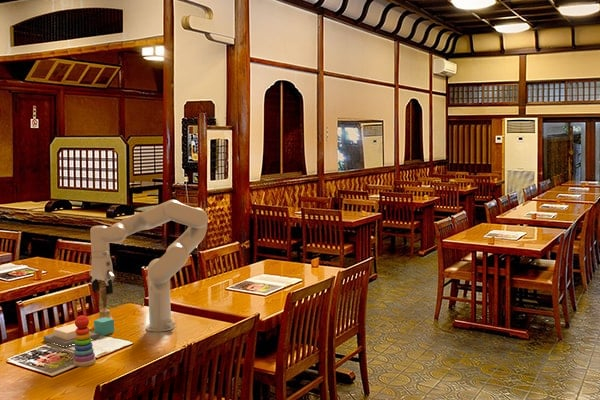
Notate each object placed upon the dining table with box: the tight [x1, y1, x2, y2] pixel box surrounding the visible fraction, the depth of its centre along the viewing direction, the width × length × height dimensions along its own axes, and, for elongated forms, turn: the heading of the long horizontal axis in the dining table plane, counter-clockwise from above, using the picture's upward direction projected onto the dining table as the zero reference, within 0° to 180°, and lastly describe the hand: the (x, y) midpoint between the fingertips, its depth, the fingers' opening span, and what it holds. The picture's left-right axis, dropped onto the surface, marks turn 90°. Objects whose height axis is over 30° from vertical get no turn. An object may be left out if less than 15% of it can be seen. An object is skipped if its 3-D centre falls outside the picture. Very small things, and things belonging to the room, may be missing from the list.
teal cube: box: [93, 317, 115, 337], centre depth 271 cm, size 6×6×6 cm
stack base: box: [43, 322, 100, 347], centre depth 262 cm, size 16×16×5 cm
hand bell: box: [97, 287, 114, 319], centre depth 288 cm, size 8×8×16 cm
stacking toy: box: [72, 315, 97, 367], centre depth 232 cm, size 8×8×19 cm
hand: (102, 292), depth 269 cm, fingers open, 9 cm apart
